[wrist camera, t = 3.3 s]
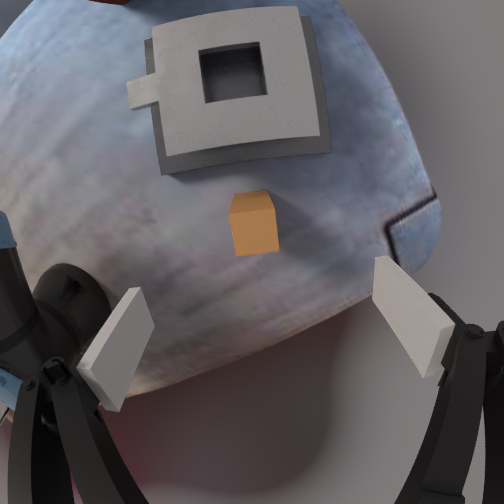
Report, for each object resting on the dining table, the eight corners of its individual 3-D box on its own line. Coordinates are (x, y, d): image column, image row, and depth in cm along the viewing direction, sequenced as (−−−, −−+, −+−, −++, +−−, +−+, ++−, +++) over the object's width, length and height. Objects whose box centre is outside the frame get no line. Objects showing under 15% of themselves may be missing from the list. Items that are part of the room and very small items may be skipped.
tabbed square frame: (327, 152, 31) (352, 155, 23) (166, 173, 32) (141, 183, 24) (306, 22, 24) (322, -7, 16) (149, 45, 25) (123, 22, 17)
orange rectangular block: (270, 221, 34) (279, 250, 25) (239, 225, 35) (236, 256, 25) (266, 190, 33) (274, 208, 24) (234, 194, 33) (229, 214, 24)
